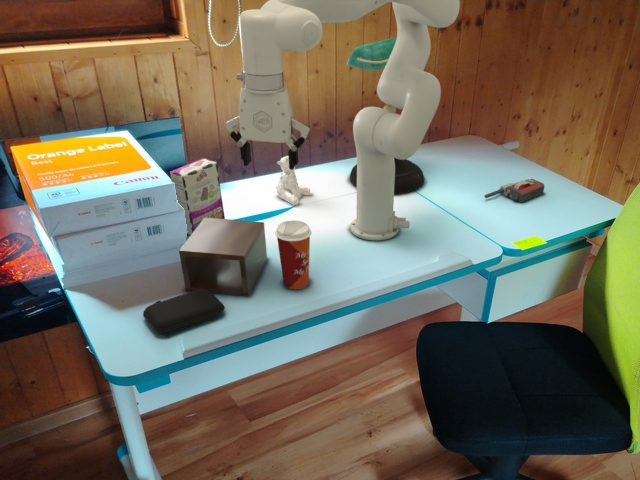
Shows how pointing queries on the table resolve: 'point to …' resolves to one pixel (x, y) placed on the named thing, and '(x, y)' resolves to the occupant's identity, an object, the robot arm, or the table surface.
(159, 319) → the carrying case
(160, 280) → the table surface
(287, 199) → the seated beast figurine
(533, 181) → the walkie-talkie
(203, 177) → the candy bar box
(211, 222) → the shelf
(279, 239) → the paper cup
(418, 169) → the banker's lamp
